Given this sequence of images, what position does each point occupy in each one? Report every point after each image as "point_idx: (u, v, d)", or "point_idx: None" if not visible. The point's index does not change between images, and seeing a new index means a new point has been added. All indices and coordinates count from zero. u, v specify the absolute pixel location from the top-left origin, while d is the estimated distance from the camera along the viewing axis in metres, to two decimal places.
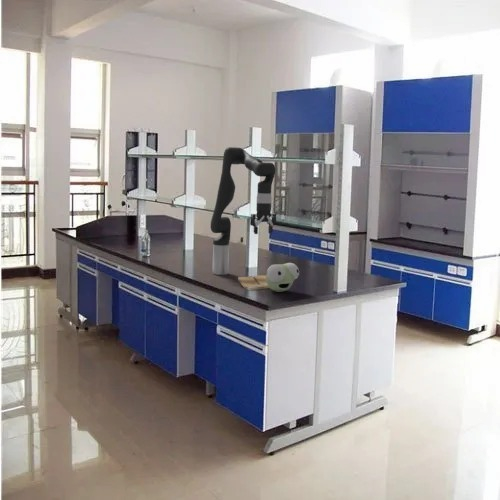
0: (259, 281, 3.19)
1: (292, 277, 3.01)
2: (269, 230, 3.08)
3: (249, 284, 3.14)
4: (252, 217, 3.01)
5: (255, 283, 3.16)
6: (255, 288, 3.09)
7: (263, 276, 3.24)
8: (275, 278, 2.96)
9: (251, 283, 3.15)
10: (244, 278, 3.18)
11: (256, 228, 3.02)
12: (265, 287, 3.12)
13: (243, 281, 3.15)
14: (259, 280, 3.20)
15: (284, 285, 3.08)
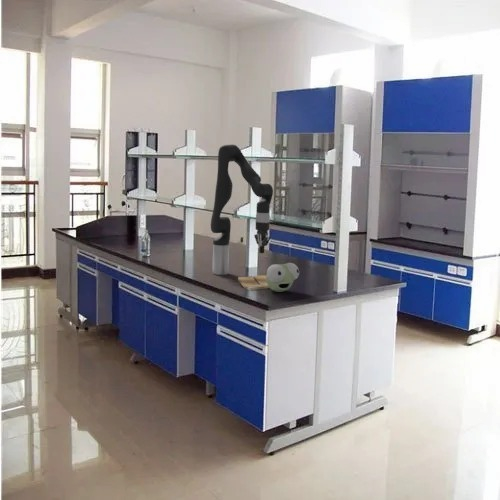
0: (259, 281, 3.19)
1: (292, 277, 3.01)
2: None
3: (249, 284, 3.14)
4: (267, 240, 3.16)
5: (255, 283, 3.16)
6: (255, 288, 3.09)
7: (263, 276, 3.24)
8: (275, 278, 2.96)
9: (251, 283, 3.15)
10: (244, 278, 3.18)
11: (263, 247, 3.21)
12: (265, 287, 3.12)
13: (243, 281, 3.15)
14: (259, 280, 3.20)
15: (284, 285, 3.08)
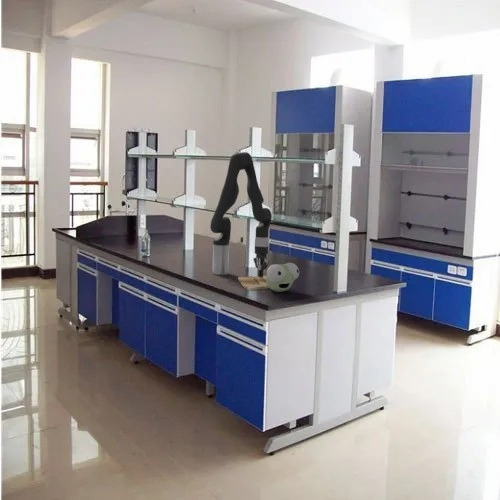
0: (259, 281, 3.19)
1: (292, 277, 3.01)
2: None
3: (249, 284, 3.14)
4: (266, 264, 3.18)
5: (255, 283, 3.16)
6: (255, 288, 3.09)
7: (263, 277, 3.24)
8: (275, 278, 2.96)
9: (251, 283, 3.15)
10: (244, 278, 3.18)
11: (262, 271, 3.23)
12: (265, 287, 3.12)
13: (243, 281, 3.15)
14: (259, 280, 3.20)
15: (284, 285, 3.08)
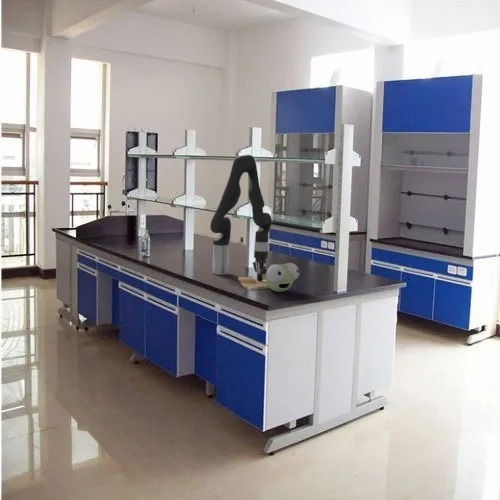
0: (258, 283, 3.20)
1: (292, 277, 3.01)
2: None
3: (249, 284, 3.14)
4: (266, 269, 3.19)
5: (255, 283, 3.16)
6: (255, 288, 3.09)
7: (262, 280, 3.26)
8: (275, 278, 2.96)
9: (251, 283, 3.15)
10: (244, 278, 3.18)
11: None
12: (265, 287, 3.12)
13: (243, 281, 3.15)
14: (258, 282, 3.21)
15: (284, 285, 3.08)
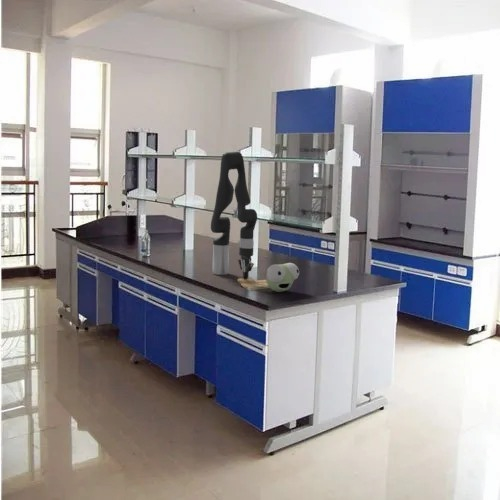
0: (258, 283, 3.20)
1: (292, 277, 3.01)
2: None
3: (249, 284, 3.14)
4: (251, 266, 3.14)
5: (255, 283, 3.17)
6: (255, 288, 3.09)
7: (262, 280, 3.26)
8: (275, 278, 2.96)
9: (251, 284, 3.15)
10: (243, 279, 3.18)
11: (247, 273, 3.19)
12: (265, 287, 3.12)
13: (243, 282, 3.15)
14: (258, 282, 3.21)
15: (284, 285, 3.08)
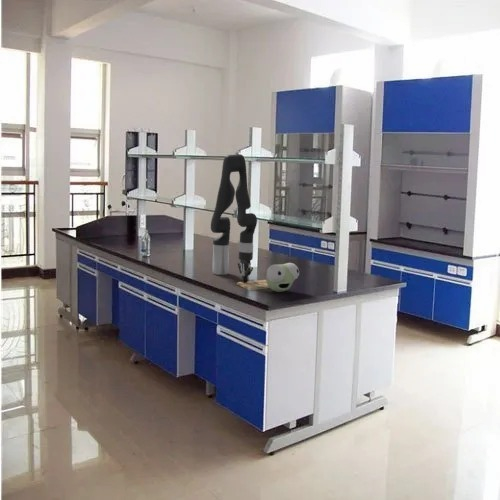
0: (258, 283, 3.20)
1: (292, 277, 3.01)
2: None
3: (248, 284, 3.15)
4: (250, 270, 3.15)
5: (254, 284, 3.17)
6: (255, 288, 3.09)
7: (262, 280, 3.26)
8: (275, 278, 2.96)
9: (250, 284, 3.16)
10: (243, 282, 3.19)
11: (246, 277, 3.19)
12: (265, 287, 3.12)
13: (242, 283, 3.16)
14: (258, 282, 3.21)
15: (284, 285, 3.08)
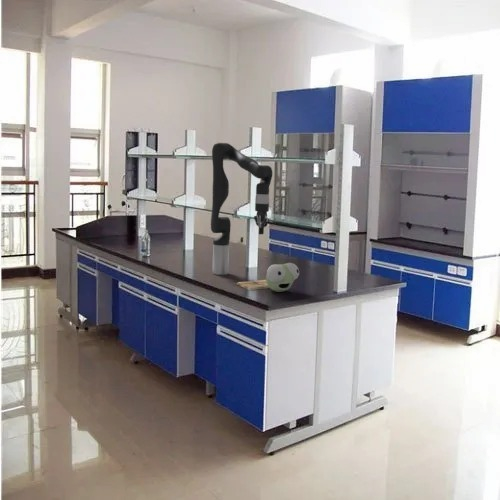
0: (258, 283, 3.20)
1: (292, 277, 3.01)
2: None
3: (248, 284, 3.15)
4: (267, 221, 3.20)
5: (254, 284, 3.17)
6: (255, 288, 3.09)
7: (262, 280, 3.26)
8: (275, 278, 2.96)
9: (250, 284, 3.16)
10: (243, 282, 3.19)
11: None
12: (265, 287, 3.12)
13: (242, 283, 3.16)
14: (258, 282, 3.21)
15: (284, 285, 3.08)
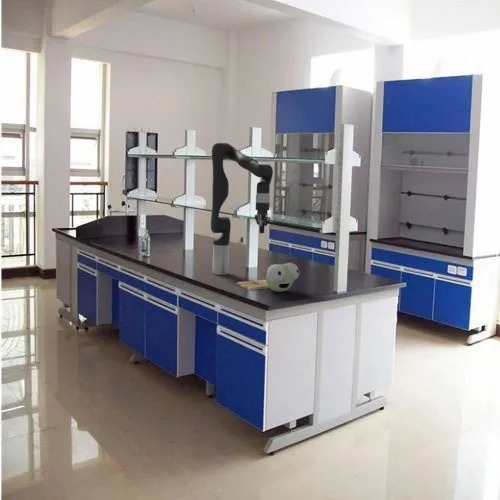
0: (258, 283, 3.20)
1: (292, 277, 3.01)
2: None
3: (248, 284, 3.15)
4: (267, 220, 3.20)
5: (254, 284, 3.17)
6: (255, 288, 3.09)
7: (262, 280, 3.26)
8: (275, 278, 2.96)
9: (250, 284, 3.16)
10: (243, 282, 3.19)
11: (263, 227, 3.25)
12: (265, 287, 3.12)
13: (242, 283, 3.16)
14: (258, 282, 3.21)
15: (284, 285, 3.08)
